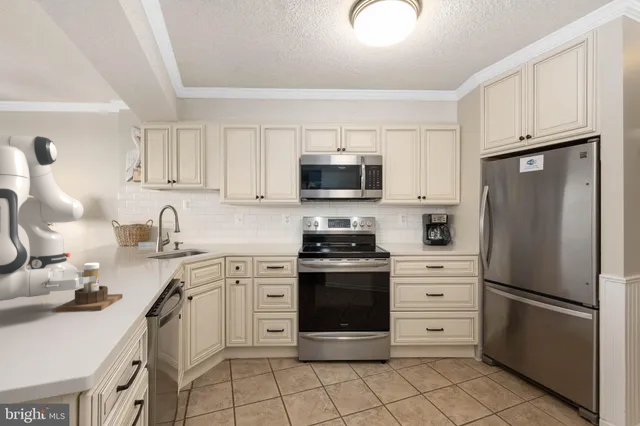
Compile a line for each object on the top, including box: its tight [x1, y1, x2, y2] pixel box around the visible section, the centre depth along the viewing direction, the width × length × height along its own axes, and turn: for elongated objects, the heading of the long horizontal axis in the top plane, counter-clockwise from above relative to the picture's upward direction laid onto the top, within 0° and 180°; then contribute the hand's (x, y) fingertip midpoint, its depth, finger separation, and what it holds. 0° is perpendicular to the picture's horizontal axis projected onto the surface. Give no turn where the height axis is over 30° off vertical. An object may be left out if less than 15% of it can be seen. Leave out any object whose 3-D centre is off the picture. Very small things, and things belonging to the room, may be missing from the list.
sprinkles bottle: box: [82, 262, 100, 292], centre depth 109 cm, size 5×5×13 cm
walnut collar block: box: [55, 285, 123, 313], centre depth 109 cm, size 14×14×6 cm
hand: (94, 275), depth 109 cm, fingers open, 8 cm apart
